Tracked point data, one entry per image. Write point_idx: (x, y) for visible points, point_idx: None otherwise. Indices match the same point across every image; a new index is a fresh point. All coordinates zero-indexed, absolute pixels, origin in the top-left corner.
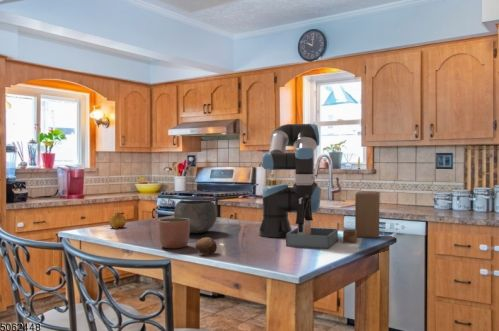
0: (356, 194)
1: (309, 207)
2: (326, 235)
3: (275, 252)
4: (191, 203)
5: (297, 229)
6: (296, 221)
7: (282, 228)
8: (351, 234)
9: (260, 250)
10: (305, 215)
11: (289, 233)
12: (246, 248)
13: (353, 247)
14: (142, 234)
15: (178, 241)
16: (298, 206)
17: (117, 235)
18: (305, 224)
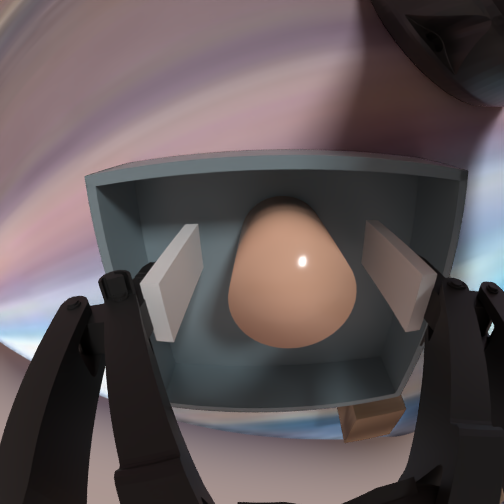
0: (501, 498)
1: (398, 480)
2: (399, 331)
3: (13, 190)
4: None
5: (398, 172)
6: (63, 307)
7: (454, 41)
8: (345, 425)
9: (15, 115)
10: (442, 328)
11: (138, 178)
12: (31, 43)
13: (253, 414)
14: None
15: None
16: (14, 456)
17: None
18: (313, 304)
